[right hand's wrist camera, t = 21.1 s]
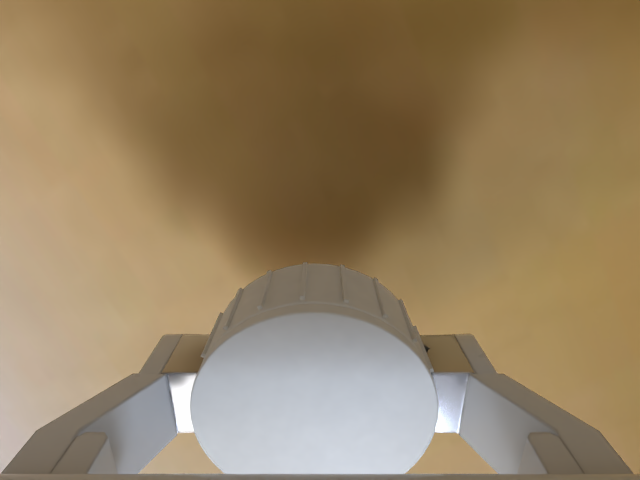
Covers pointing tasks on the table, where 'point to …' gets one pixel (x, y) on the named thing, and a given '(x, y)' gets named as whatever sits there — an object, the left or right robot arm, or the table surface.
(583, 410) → the table surface
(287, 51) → the table surface
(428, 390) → the lid
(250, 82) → the table surface
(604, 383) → the table surface
